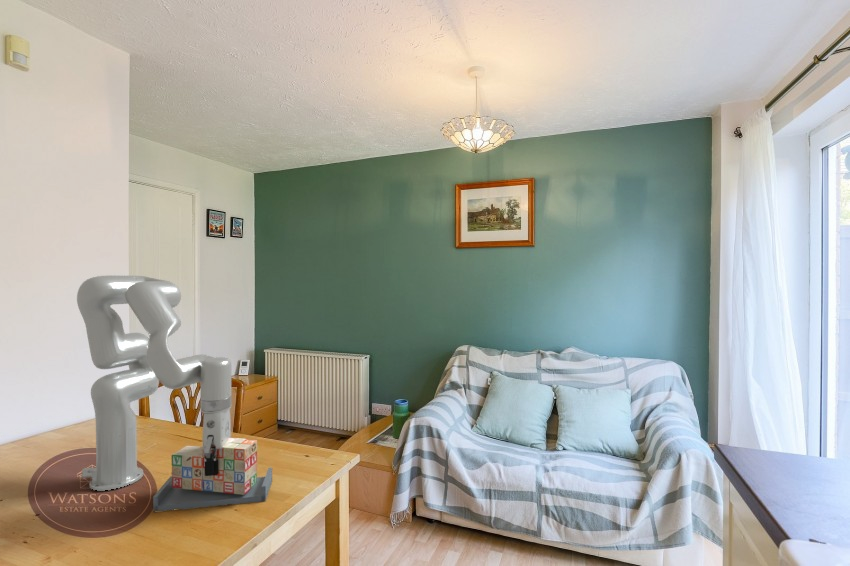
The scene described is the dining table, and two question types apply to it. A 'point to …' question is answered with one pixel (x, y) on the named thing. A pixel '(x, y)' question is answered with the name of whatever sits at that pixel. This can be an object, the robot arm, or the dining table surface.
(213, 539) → the dining table surface
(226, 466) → the stack of blocks
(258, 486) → the board
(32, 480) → the dining table surface
